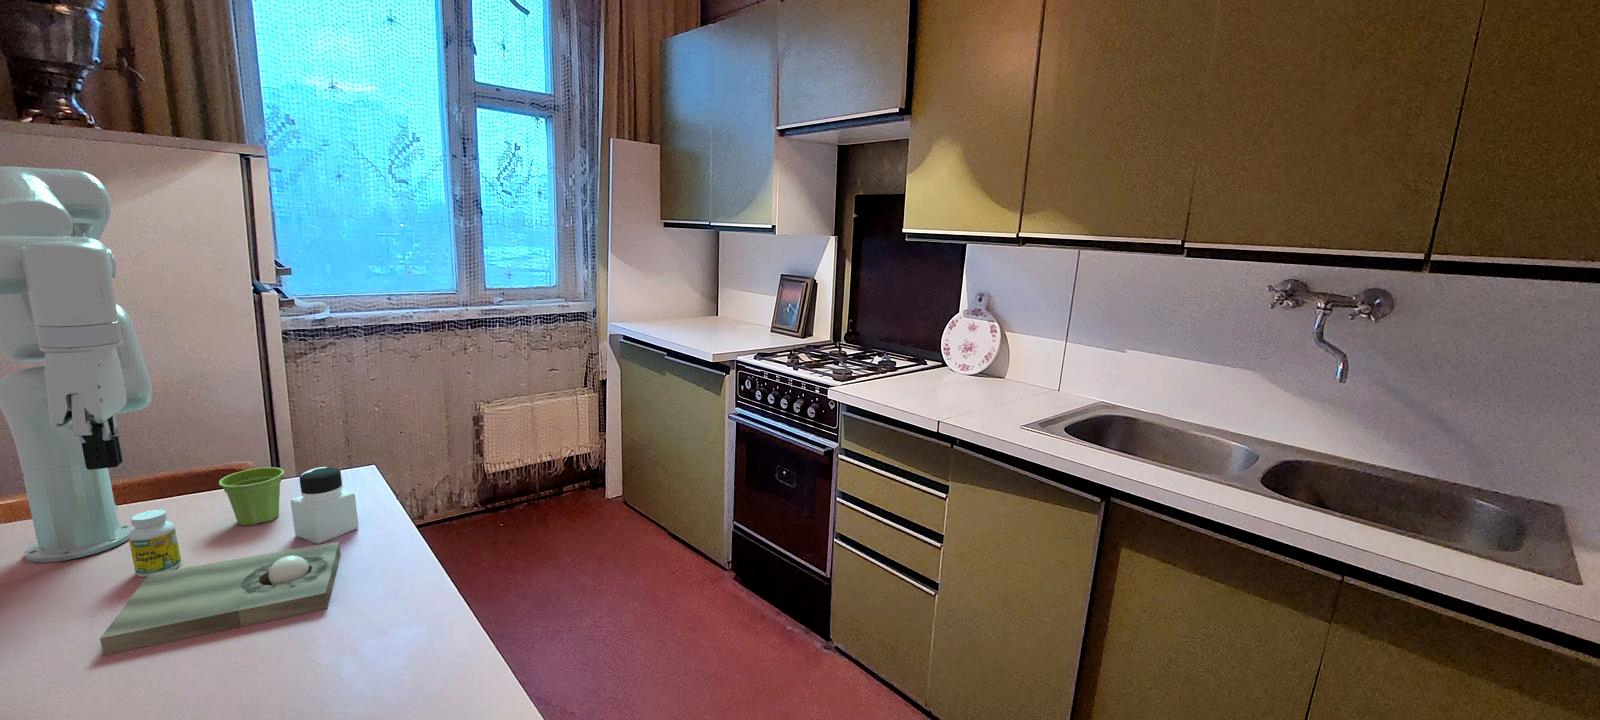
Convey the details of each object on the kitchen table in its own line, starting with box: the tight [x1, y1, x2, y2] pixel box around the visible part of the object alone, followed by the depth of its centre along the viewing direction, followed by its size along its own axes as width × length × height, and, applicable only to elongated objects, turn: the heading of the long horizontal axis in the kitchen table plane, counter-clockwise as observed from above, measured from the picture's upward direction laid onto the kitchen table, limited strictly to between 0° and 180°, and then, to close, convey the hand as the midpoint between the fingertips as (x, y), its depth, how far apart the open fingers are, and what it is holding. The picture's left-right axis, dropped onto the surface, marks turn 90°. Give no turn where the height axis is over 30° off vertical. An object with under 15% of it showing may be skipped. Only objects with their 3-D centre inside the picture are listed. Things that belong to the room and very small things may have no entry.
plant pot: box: [218, 466, 285, 526], centre depth 124 cm, size 9×9×9 cm
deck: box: [99, 541, 342, 656], centre depth 99 cm, size 18×24×2 cm
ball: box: [269, 555, 309, 585], centre depth 102 cm, size 5×5×5 cm
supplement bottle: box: [128, 509, 182, 578], centre depth 106 cm, size 5×5×10 cm
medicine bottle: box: [290, 466, 359, 545], centre depth 120 cm, size 7×7×12 cm
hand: (105, 466), depth 91 cm, fingers closed
